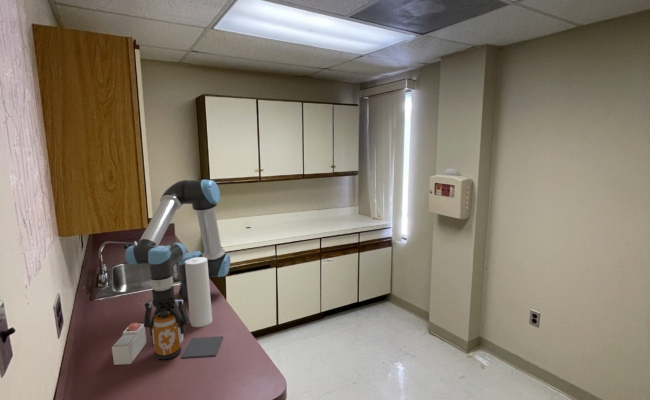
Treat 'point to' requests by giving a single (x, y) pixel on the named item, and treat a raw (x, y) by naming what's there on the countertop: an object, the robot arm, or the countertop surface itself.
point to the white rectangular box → (129, 345)
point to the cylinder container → (198, 291)
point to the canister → (166, 335)
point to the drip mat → (202, 347)
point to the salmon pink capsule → (133, 327)
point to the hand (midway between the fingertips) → (168, 341)
